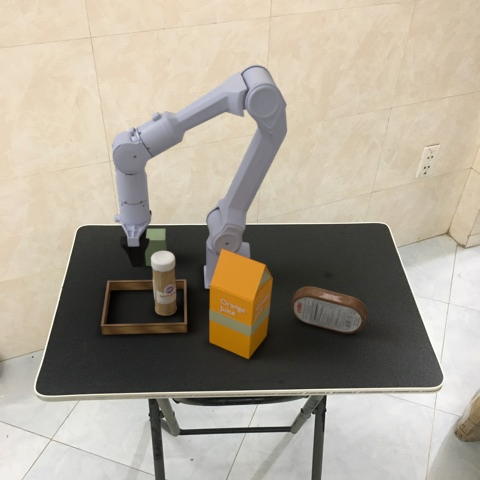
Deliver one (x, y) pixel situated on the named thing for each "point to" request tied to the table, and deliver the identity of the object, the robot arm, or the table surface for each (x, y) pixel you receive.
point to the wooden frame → (141, 327)
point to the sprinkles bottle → (164, 282)
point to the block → (155, 243)
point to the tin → (329, 310)
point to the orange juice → (239, 303)
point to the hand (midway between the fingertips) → (138, 254)
